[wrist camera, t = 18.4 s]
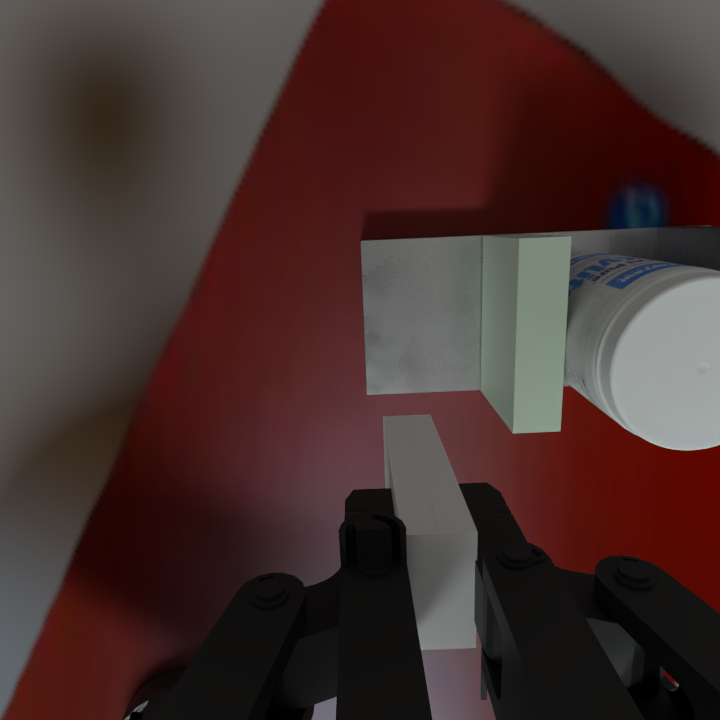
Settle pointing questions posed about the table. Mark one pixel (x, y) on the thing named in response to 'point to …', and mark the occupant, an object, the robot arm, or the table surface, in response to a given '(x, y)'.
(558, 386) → the block
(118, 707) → the table surface
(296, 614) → the robot arm
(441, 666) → the table surface
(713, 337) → the supplement tub
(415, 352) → the vise
